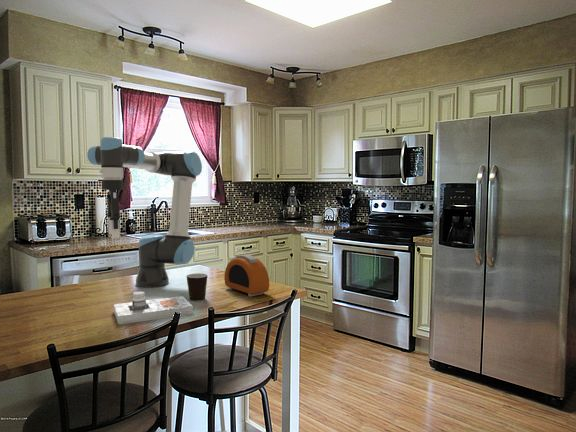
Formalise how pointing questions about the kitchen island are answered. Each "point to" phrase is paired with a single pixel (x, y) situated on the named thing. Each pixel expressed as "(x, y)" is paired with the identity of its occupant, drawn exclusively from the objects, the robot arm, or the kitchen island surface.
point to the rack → (152, 310)
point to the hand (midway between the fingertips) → (114, 235)
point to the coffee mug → (197, 286)
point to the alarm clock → (247, 275)
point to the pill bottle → (139, 301)
